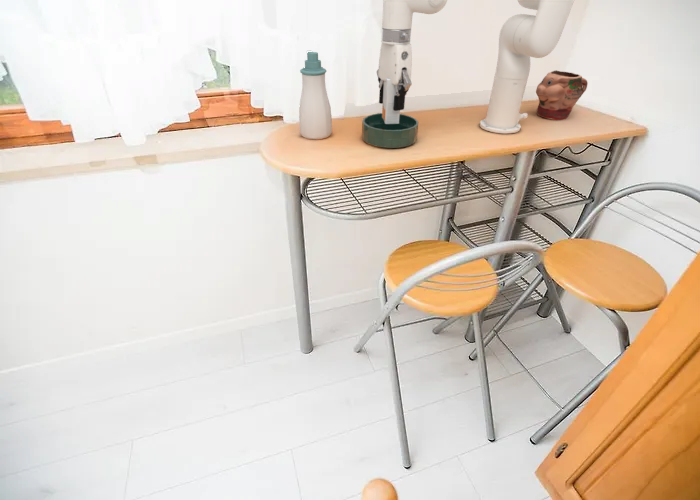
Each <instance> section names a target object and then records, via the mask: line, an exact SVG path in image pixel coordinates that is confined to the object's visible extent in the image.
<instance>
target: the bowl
mask: <svg viewBox="0 0 700 500" xmlns="http://www.w3.org/2000/svg"><path fill="white" fill-rule="evenodd" d="M418 129H419V121H418V120H417V118H415V117H414V116H410V115H407V114H402V113H400V116H399V124H385V122H384V120H383V118H382V112H379V113H373V114H369V115H367V116H365V117H364V118H362V121H361V139H362V140H363V142H365V143H367V144H368V145H371V146H374V147H378V148H388V149H393V148H394V149H395V148H396V149H397V148H405V147H409V146H411V145H414V144H415V143H416V142H417V141H418Z"/></svg>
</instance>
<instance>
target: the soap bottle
mask: <svg viewBox="0 0 700 500" xmlns="http://www.w3.org/2000/svg"><path fill="white" fill-rule="evenodd" d="M304 67H305V68H304ZM304 67H302V68H301V69H299V72H300V74H301V79H302V82H301V83H302V85H301V95H300V100H299V105H300V107H299V106H298V122H299V133H300V136H302V137H303V138H305V139H308V140H324V139H327V138H329V137H330V136H331V135H332V133H333V121H332V109H331V104H330V99H329V95H328V93H327V92H328V91H327V88H326V73H327V69H326V68H324V67H323V66H322V61H321V59H319V52H316V51H312V52H308V53H307V52H306V59H305V60H304Z"/></svg>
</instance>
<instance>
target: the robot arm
mask: <svg viewBox="0 0 700 500" xmlns="http://www.w3.org/2000/svg"><path fill="white" fill-rule="evenodd" d="M517 2H518V4H519V5H520V6H521V7H522V8H525V9H529V10H534V11H536V12H535V13H536V14H535V15H534V14H533V15H532V14H525V13H520V14H515V15H512V16H511V17H509V18H508V19H506V21H505V22H503V24H502V26H501V29H500V31H499V35H498V55H497V62H496V69H495V72H494V78H493V81H492V87H491V91H490V97H489V100H488V101H489V102H488V106H487V107H488V108H487V111H486V112H487V113H486V117H485V118H484V119H481V120H480V121H479V127H480V128H481V129H483V130H484V131H487V132H490V133H495V134H502V135H503V134H507V135H509V134H515V133H518V132H520V131H521V128H522V126H521V124H520V123H519V122H520V121H521V120H526V119H527V118H528V117H529V114H528V113H527V112H522V113H521V112H520V111H521V107H522V104H523V99H524V94H525V91H526V87H527V83H528V80H529V79H528V78H529V75H530V70H531V58H535V59H542V58H544V57H547V56H548V55H550V54H551V53H552V52H553V51H554V49H555V48H556V47H557V45H558V43H559V41H560V39H561V37H562V34H563V32H564V29H565V26H566V24H567V21H568V18H569V16H570V14H571V10H572V7H573V5H574V2H575V0H517ZM447 3H448V0H382V19H381V20H382V23H381V38H380V39H381V40H380V42H381V43H380V49H379V58H378V68H377V70H376V76H377V81H378V88H379V94H378V95H379V96H378V97H379V98H378V103H379V104H381V105H383V88H384V81H385V80H386V78H387V79H390V80H391V83H392V84H393V85H394V86H395V92H396V95H395V96H394V107H393V110H394V111H398V110H400V111H404V109H405V101H406V96H407V95H408V92H409V90H410V88H411V86H412V81H411V80H412V69H413V68H412V65H413V62H412V61H413V52H412V51H413V50H412V44H411V38H412V37H411V35H412V25H413V14H414V13H418V14H424V15H434V14H437V13H439V12H441V11H442V10H443V8H445V6H446V5H447ZM399 80H402V83H399ZM399 86H402V87H401V89H400V90H399Z"/></svg>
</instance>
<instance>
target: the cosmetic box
mask: <svg viewBox="0 0 700 500" xmlns="http://www.w3.org/2000/svg"><path fill="white" fill-rule="evenodd" d="M399 83H402V80H399ZM401 87H402V86H399V90H400V89H401ZM395 95H396V92H395V86H394V85H393V84H392V83H391V80H390V79H387V78H386V80H385V81H384V88H383V104H382V108H381V109H382V110H381V113H382V118H383V120H384V122H385V124H399V116H400V114H401V110H398V111H394V110H393V107H394V96H395Z"/></svg>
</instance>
